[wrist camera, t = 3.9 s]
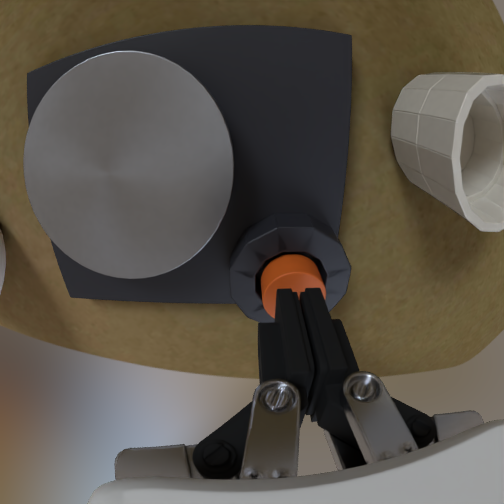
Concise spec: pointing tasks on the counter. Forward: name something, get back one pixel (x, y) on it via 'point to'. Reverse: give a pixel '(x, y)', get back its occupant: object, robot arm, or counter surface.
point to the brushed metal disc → (129, 164)
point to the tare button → (289, 278)
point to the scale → (249, 160)
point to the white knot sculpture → (2, 260)
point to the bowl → (455, 142)
